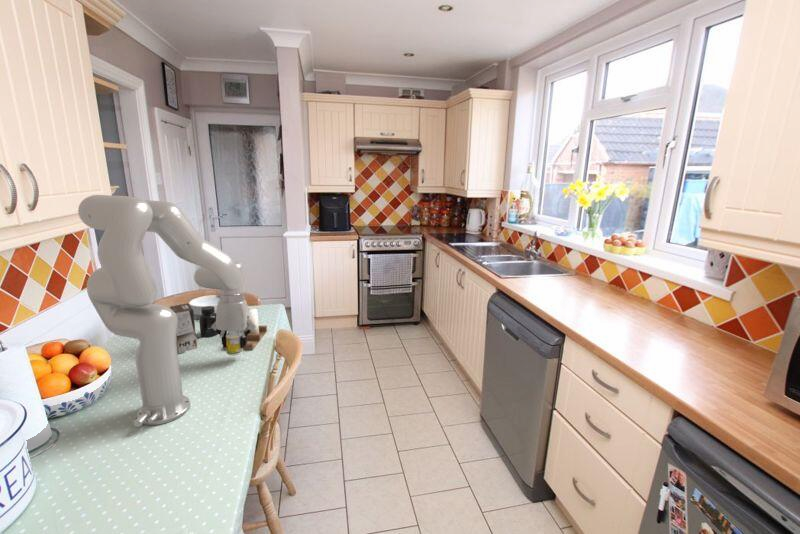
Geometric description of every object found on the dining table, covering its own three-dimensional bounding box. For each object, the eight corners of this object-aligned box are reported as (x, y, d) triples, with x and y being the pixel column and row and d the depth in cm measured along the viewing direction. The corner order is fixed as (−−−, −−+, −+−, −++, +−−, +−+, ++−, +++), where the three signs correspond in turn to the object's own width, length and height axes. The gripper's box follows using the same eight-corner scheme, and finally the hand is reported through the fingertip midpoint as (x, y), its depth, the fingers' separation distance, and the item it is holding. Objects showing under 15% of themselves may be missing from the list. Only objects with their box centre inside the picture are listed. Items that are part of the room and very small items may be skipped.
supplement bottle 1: (211, 339, 149) (209, 311, 146) (196, 337, 150) (193, 309, 147) (223, 332, 156) (220, 305, 153) (208, 331, 157) (205, 304, 154)
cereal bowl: (236, 308, 184) (234, 294, 182) (222, 321, 168) (221, 306, 166) (200, 307, 182) (198, 294, 181) (183, 321, 166) (181, 306, 165)
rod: (257, 337, 151) (255, 312, 148) (246, 337, 151) (243, 312, 148) (260, 333, 155) (258, 308, 152) (250, 333, 155) (247, 308, 152)
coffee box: (198, 349, 141) (193, 309, 137) (178, 354, 137) (173, 313, 133) (193, 341, 148) (188, 302, 144) (174, 345, 144) (169, 305, 140)
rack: (252, 351, 140) (252, 344, 140) (225, 351, 140) (224, 344, 139) (267, 332, 158) (267, 325, 157) (243, 331, 157) (242, 325, 157)
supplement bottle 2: (242, 355, 131) (241, 329, 129) (225, 356, 129) (224, 330, 127) (243, 349, 136) (242, 324, 134) (227, 350, 134) (226, 325, 132)
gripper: (201, 299, 124) (204, 350, 128) (253, 301, 125) (255, 351, 129) (212, 293, 132) (214, 341, 135) (261, 295, 132) (262, 343, 136)
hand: (234, 346), depth 132 cm, fingers closed on supplement bottle 2, 5 cm apart
